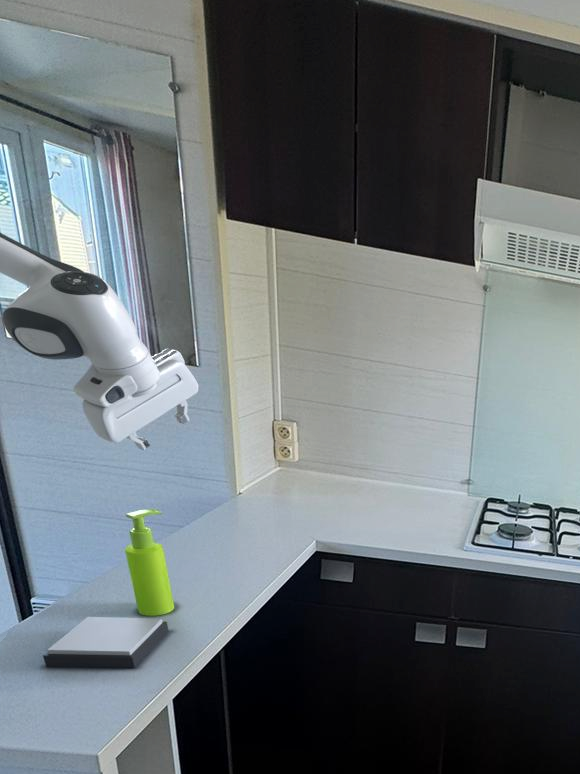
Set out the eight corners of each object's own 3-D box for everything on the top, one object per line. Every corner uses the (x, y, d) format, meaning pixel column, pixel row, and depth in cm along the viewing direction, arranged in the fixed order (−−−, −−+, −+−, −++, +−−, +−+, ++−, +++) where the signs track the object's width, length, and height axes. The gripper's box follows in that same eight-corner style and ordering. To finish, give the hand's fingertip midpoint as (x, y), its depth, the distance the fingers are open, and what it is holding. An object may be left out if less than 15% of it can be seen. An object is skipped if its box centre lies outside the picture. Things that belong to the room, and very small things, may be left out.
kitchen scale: (46, 667, 103) (41, 651, 102) (89, 629, 114) (86, 615, 113) (134, 668, 106) (131, 653, 104) (168, 631, 117) (166, 617, 116)
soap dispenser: (186, 606, 126) (168, 511, 118) (151, 618, 120) (130, 519, 112) (167, 598, 128) (148, 504, 120) (131, 610, 122) (109, 512, 114)
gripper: (162, 339, 118) (194, 402, 129) (63, 393, 106) (108, 457, 117) (188, 349, 117) (218, 412, 128) (91, 404, 105) (133, 468, 116)
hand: (164, 434), depth 123 cm, fingers open, 8 cm apart
